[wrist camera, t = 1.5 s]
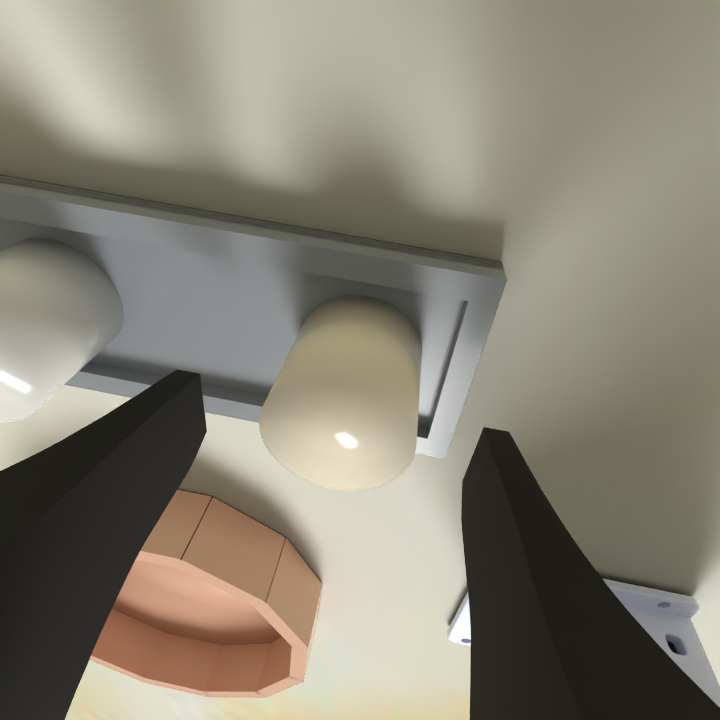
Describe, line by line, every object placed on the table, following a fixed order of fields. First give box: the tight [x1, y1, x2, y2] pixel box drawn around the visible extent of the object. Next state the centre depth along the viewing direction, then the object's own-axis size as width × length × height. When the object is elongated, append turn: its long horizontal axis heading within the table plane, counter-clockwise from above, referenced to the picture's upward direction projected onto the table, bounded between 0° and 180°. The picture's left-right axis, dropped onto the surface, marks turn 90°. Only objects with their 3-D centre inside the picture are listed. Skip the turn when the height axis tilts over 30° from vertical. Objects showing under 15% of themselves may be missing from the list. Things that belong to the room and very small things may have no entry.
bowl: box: [89, 490, 322, 698], centre depth 25 cm, size 16×16×3 cm
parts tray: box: [0, 175, 507, 459], centre depth 15 cm, size 17×7×1 cm, turn 83°
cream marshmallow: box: [259, 295, 422, 491], centre depth 13 cm, size 4×4×4 cm
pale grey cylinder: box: [0, 238, 124, 422], centre depth 14 cm, size 4×4×4 cm
